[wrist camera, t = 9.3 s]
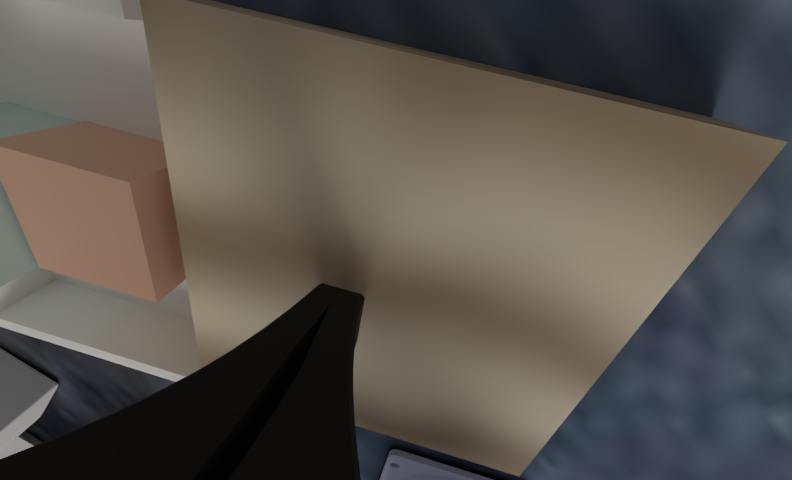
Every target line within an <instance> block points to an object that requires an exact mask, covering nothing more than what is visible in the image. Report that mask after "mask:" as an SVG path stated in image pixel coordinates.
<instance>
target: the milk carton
mask: <svg viewBox="0 0 792 480" xmlns="http://www.w3.org/2000/svg"><path fill="white" fill-rule="evenodd" d="M57 387H58V383H56V382H55V381H53V380H51V379H50V378H48V377H47V376H45V375H43V374H42V373H40V372H38V371H37V370H35V369H34V368H32V367H30V366H29V365H27V364H25V363H24V362H22V361H21V360H19V359H17V358H16V357H14V356H12V355H11V354H9V353H8V352H6V351H4V350H3V349H1V348H0V451H1V450H3V449H4V448H5V447H6V446H7V445H8V444H10V443H11V442H12V441H13V440H14V439H15V438H17V437H18V436H19V435H20V434H21V433H22V432H24V431H25V430H26V429H27V428H28V427H29V426H30V425H32V424H33V423H34V422H35V421H36V420H37V419H38V418H39V417H40V416H41V415H42V413H43V412H44V410H45V408H46V406H47V405H48V403H49V401H50V399H51V398H52V396H53V394H54V392H55V391H56V389H57Z"/></svg>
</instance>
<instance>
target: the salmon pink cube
mask: <svg viewBox="0 0 792 480" xmlns="http://www.w3.org/2000/svg"><path fill="white" fill-rule="evenodd" d="M0 180H1V182H2V184H3V187H4V189H5V191H6V193H7V196H8V198H9V200H10V202H11V205H12V207H13V209H14V212H15V214H16V216H17V218H18V221H19V223H20V225H21V227H22V230H23V232H24V234H25V236H26V239H27V241H28V243H29V245H30V248H31V250H32V252H33V254H34V257H35V259H36V261H37V263H38V266H39V268H43V269H46V270H49V271H53V272H56V273H59V274H63V275H66V276H69V277H73V278H76V279H79V280H83V281H86V282H89V283H93V284H96V285H99V286H102V287H106V288H109V289H112V290H116V291H119V292H122V293H126V294H129V295H132V296H136V297H139V298H142V299H146V300H149V301H152V302H156V303H158V302H159V301H160V300H161V299H163V298H164V297H165V296H166V295H167V294H169V293H170V292H171V291H172V290H173V289H175V288H176V287H177V286H178V285H179V284H181V283H182V282H183V281H184V280H185V279H186V276H185V270H184V264H183V258H182V252H181V246H180V240H179V234H178V228H177V222H176V216H175V210H174V204H173V198H172V192H171V186H170V180H169V174H168V168H167V162H166V155H165V149H164V143H163V141H159V140H155V139H152V138H148V137H144V136H141V135H137V134H133V133H129V132H126V131H122V130H118V129H114V128H111V127H107V126H103V125H99V124H96V123H92V122H88V121H81V122H77V123H72V124H67V125H62V126H57V127H53V128H48V129H43V130H38V131H34V132H29V133H24V134H19V135H14V136H10V137H5V138H0Z"/></svg>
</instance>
